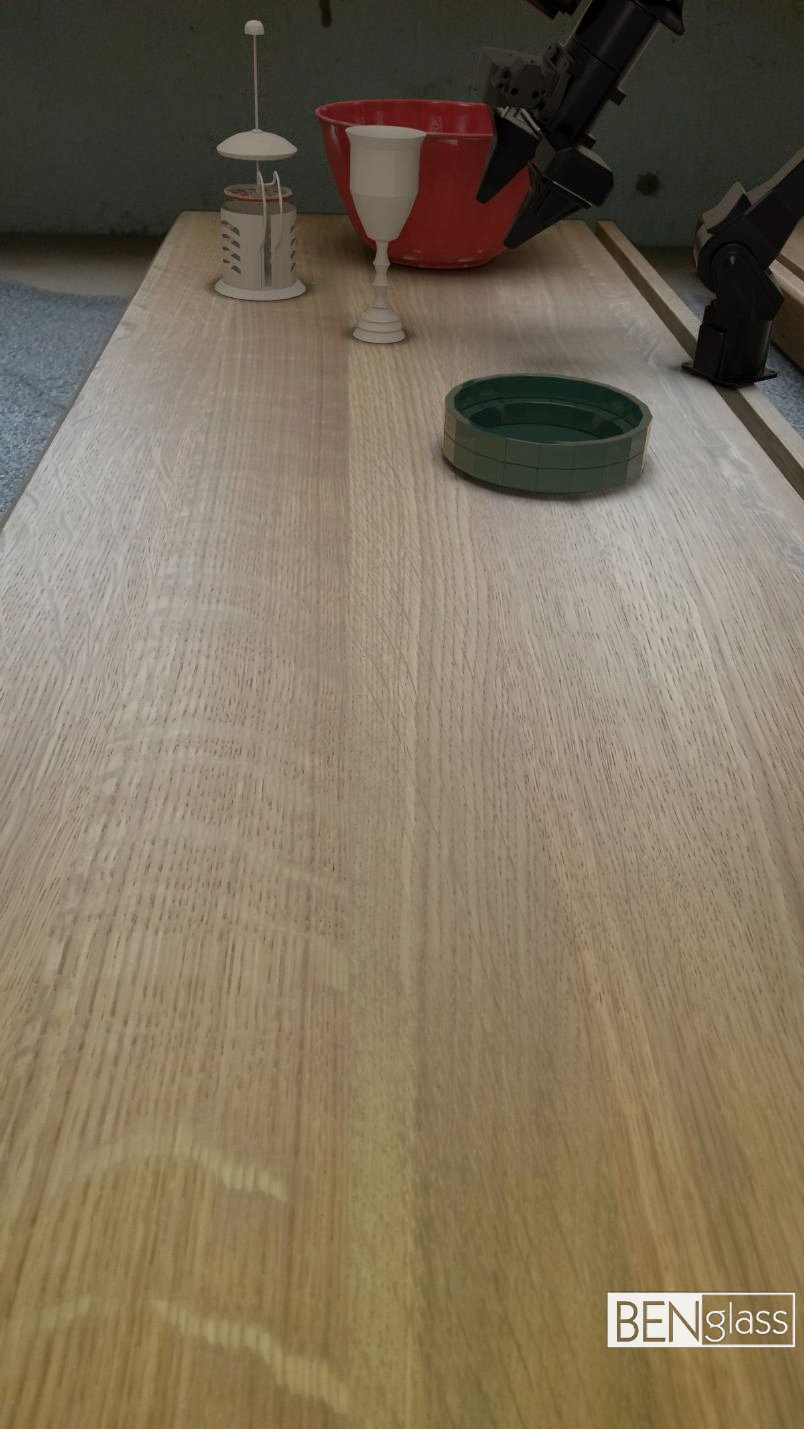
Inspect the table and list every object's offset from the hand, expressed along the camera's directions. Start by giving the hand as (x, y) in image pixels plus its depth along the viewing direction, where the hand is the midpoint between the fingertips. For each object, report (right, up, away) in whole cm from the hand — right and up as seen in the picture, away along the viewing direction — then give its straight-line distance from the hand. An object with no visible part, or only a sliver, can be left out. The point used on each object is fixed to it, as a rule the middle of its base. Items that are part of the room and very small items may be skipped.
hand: (493, 223), depth 108 cm
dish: (+3, -24, -15) cm, 28 cm away
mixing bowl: (-4, +11, +37) cm, 39 cm away
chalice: (-10, -7, +10) cm, 16 cm away
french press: (-23, +1, +21) cm, 31 cm away
